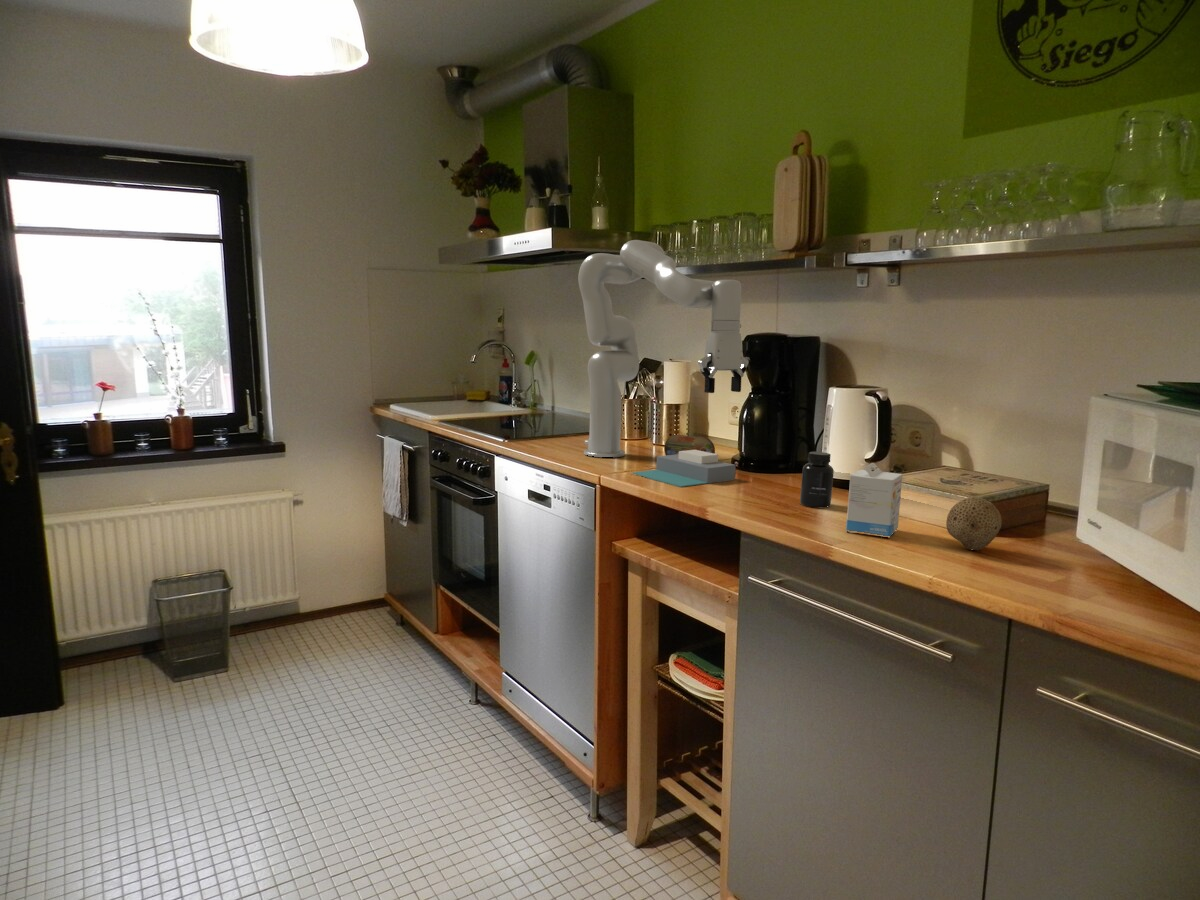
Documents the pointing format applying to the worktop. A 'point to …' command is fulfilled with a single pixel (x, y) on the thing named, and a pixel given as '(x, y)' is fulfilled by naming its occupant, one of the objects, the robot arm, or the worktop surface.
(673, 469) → the grey flat block
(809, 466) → the supplement bottle
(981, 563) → the worktop surface
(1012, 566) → the worktop surface
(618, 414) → the robot arm
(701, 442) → the tin
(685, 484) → the mat
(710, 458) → the white rectangular block
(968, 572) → the worktop surface
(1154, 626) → the worktop surface
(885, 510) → the ink box
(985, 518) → the natural sponge
